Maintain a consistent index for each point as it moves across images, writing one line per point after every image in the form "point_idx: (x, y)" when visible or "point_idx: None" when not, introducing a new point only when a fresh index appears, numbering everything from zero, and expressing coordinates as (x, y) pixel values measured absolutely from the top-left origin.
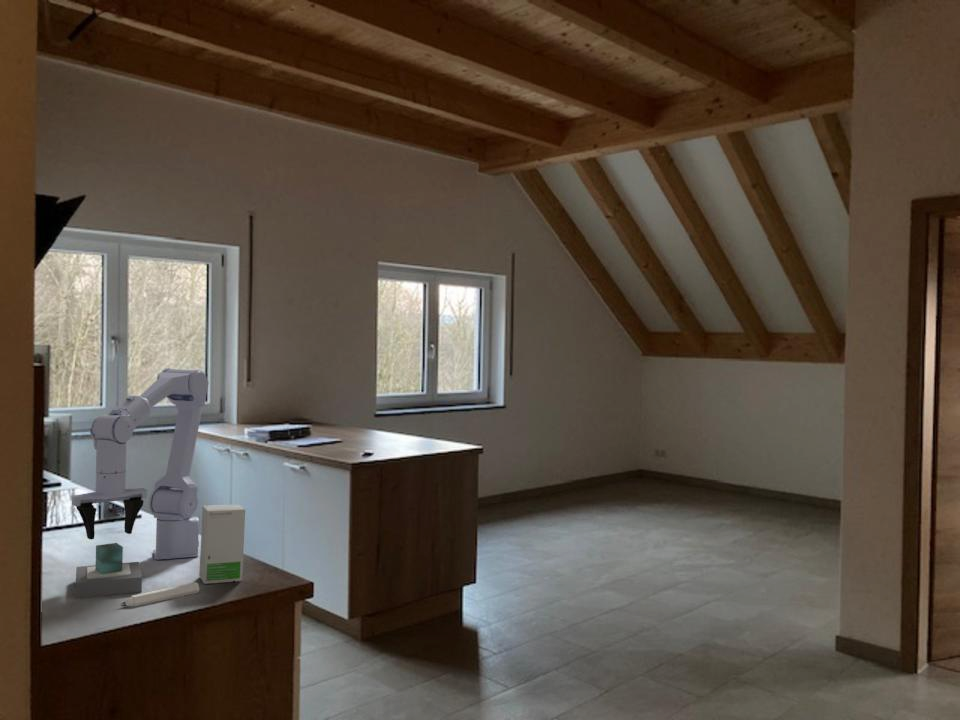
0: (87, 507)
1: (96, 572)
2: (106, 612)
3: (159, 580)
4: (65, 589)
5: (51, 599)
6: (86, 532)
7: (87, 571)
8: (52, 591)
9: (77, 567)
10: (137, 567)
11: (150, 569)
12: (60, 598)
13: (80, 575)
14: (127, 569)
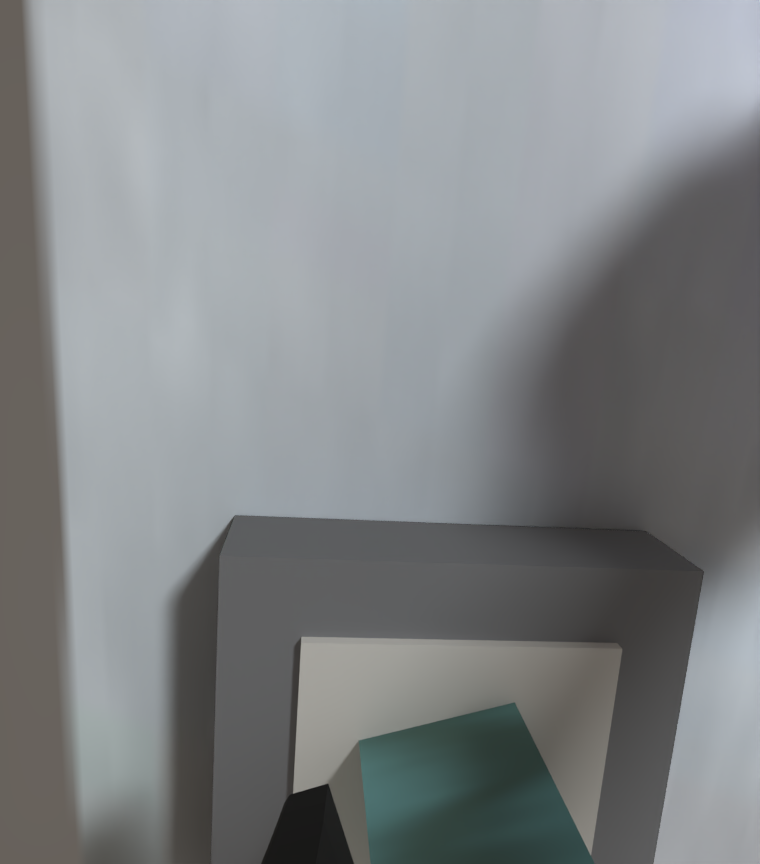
0: None
1: (360, 817)
2: None
3: (737, 683)
4: (164, 684)
5: (86, 861)
6: (269, 850)
7: (297, 769)
8: (82, 701)
9: (226, 580)
10: (658, 728)
11: (752, 395)
12: (138, 857)
13: (244, 814)
14: (580, 804)
